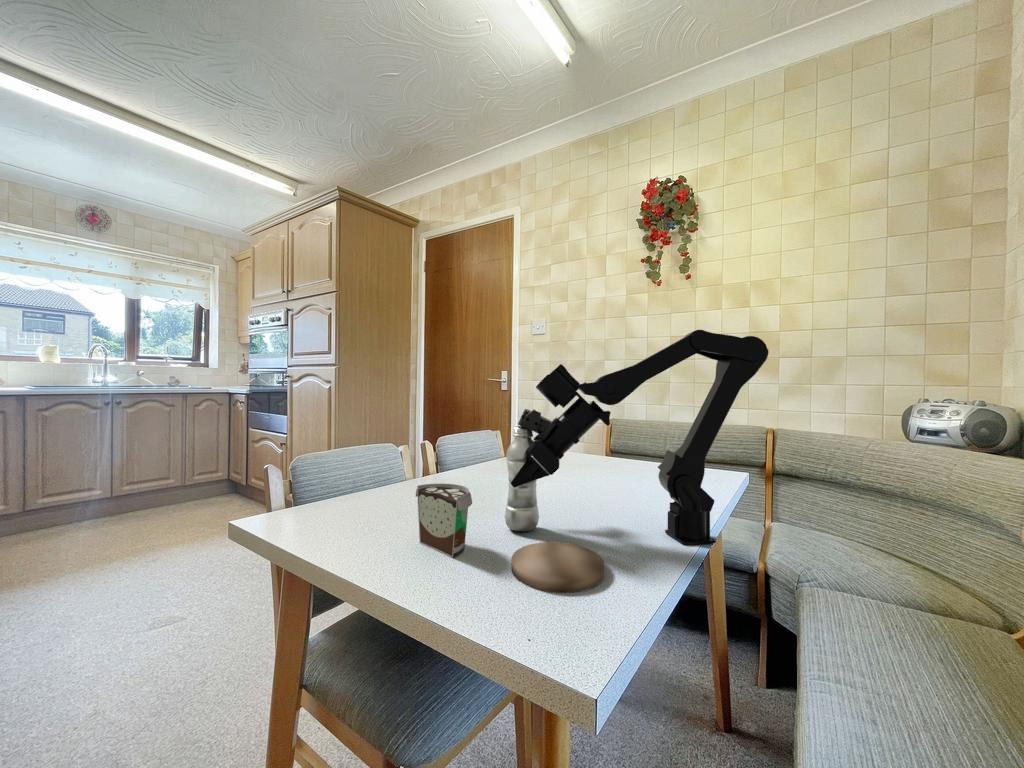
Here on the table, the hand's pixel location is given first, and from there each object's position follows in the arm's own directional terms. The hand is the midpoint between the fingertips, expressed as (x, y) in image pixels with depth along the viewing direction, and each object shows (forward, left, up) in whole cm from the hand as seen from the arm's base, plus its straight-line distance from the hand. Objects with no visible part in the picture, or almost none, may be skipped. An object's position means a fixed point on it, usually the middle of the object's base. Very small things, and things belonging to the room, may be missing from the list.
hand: (515, 480), depth 79 cm
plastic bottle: (-1, 0, -10) cm, 10 cm away
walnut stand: (-3, +18, -10) cm, 21 cm away
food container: (+13, +6, -10) cm, 17 cm away
